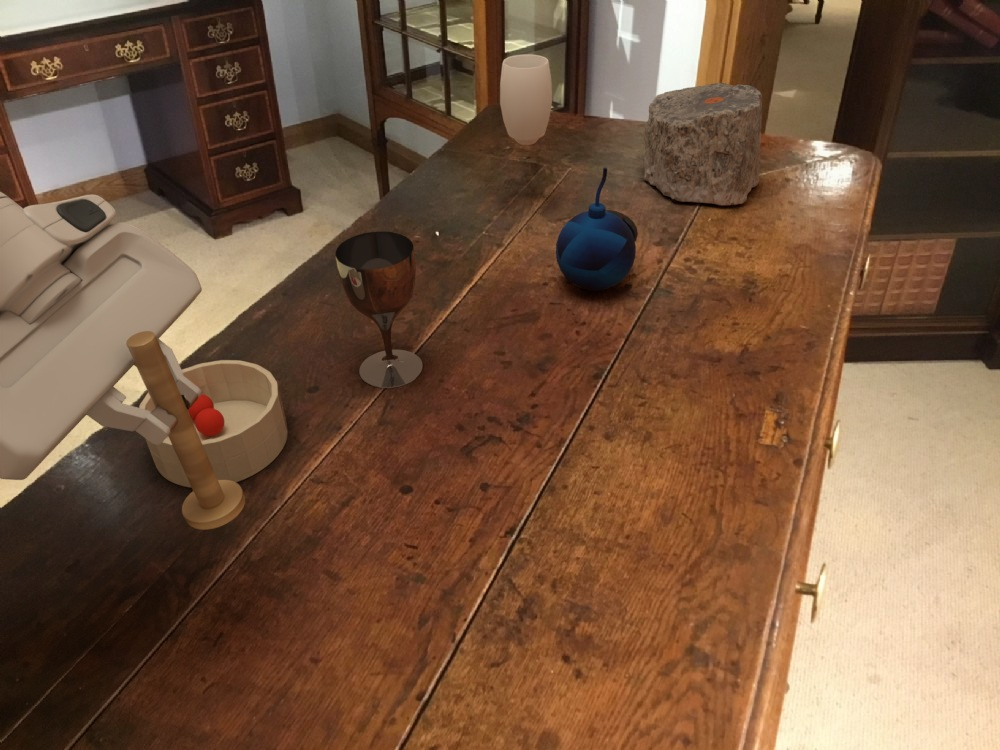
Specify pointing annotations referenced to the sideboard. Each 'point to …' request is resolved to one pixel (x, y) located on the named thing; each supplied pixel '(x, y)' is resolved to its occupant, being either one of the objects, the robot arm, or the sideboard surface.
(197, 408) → the tomato
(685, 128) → the petrified wood
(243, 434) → the bowl
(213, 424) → the tomato
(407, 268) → the wine glass
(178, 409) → the stick
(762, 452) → the sideboard surface
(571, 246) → the bomb
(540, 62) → the cup
